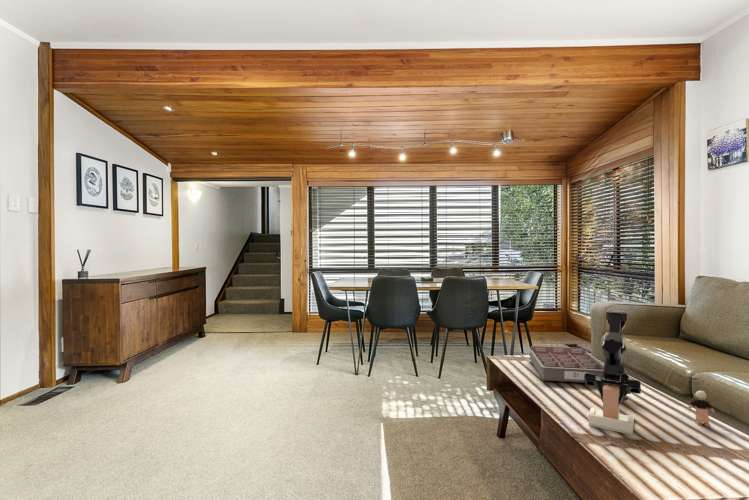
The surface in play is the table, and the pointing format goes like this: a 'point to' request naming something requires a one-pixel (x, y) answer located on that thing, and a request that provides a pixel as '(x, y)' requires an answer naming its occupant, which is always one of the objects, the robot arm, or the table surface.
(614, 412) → the tall peach block
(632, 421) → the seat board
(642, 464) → the table surface
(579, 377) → the organizer tray
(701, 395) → the grandmother figurine
